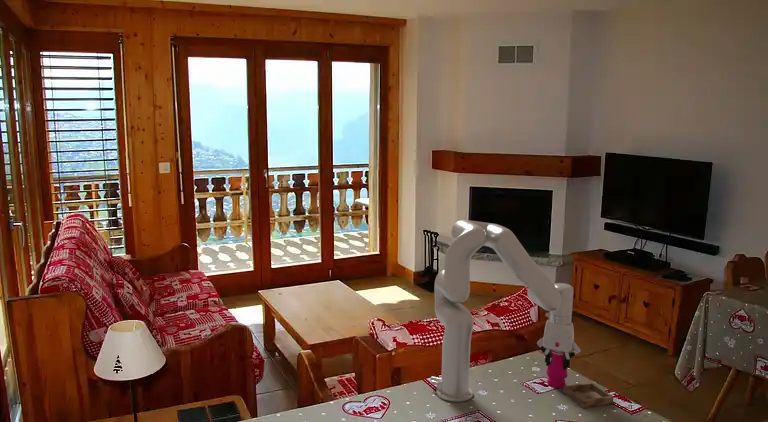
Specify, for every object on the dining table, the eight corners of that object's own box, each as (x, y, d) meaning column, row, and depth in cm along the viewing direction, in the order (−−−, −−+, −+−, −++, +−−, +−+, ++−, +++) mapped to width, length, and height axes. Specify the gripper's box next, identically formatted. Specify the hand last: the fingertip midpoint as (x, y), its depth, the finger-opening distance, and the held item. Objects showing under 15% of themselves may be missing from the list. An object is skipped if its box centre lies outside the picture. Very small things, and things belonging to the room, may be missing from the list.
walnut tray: (583, 408, 198) (583, 401, 198) (563, 393, 209) (563, 386, 209) (612, 404, 202) (613, 397, 201) (591, 389, 212) (592, 382, 212)
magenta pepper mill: (568, 388, 213) (572, 335, 209) (548, 388, 213) (552, 334, 210) (563, 380, 220) (566, 328, 217) (543, 379, 220) (546, 327, 217)
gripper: (533, 317, 213) (530, 365, 216) (583, 325, 205) (579, 375, 208) (538, 311, 220) (535, 358, 222) (587, 319, 212) (583, 368, 214)
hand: (556, 366), depth 215 cm, fingers open, 5 cm apart
